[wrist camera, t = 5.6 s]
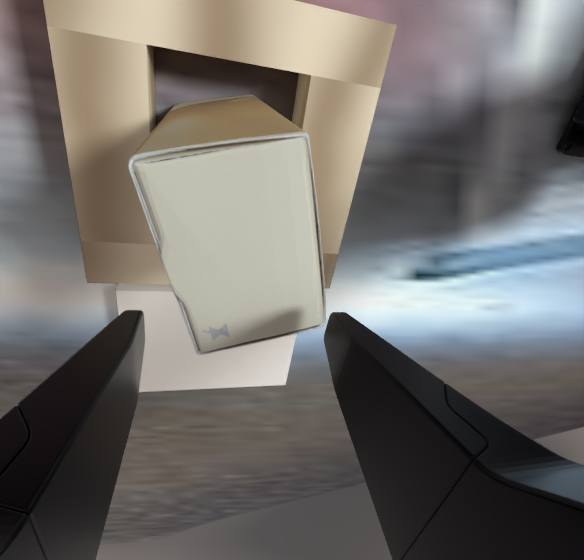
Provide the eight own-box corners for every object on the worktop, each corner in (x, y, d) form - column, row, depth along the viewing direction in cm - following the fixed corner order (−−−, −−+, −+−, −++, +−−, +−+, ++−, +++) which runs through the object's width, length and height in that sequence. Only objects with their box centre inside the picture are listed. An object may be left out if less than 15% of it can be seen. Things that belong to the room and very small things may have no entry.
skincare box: (271, 203, 22) (331, 335, 12) (200, 217, 21) (197, 367, 11) (253, 85, 18) (316, 126, 8) (167, 97, 18) (119, 159, 8)
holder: (374, 28, 18) (396, 25, 16) (319, 268, 25) (329, 288, 23) (58, -46, 14) (33, -63, 12) (98, 260, 21) (87, 282, 19)
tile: (301, 286, 25) (304, 294, 25) (283, 375, 30) (285, 384, 29) (118, 281, 22) (115, 290, 21) (129, 382, 27) (126, 392, 26)
